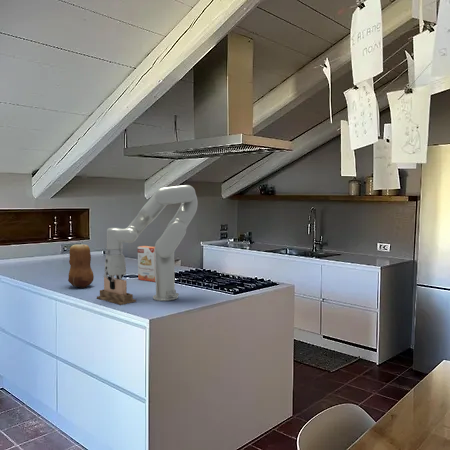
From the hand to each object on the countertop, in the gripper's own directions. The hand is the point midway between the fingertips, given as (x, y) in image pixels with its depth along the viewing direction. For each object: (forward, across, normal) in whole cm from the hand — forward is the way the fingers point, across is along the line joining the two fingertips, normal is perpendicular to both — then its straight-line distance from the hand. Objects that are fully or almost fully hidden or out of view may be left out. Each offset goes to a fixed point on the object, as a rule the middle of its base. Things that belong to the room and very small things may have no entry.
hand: (115, 288), depth 233 cm
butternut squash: (+7, +5, +42) cm, 43 cm away
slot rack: (+6, 0, 0) cm, 6 cm away
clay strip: (+3, 0, 0) cm, 3 cm away
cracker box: (+6, +44, +29) cm, 53 cm away
